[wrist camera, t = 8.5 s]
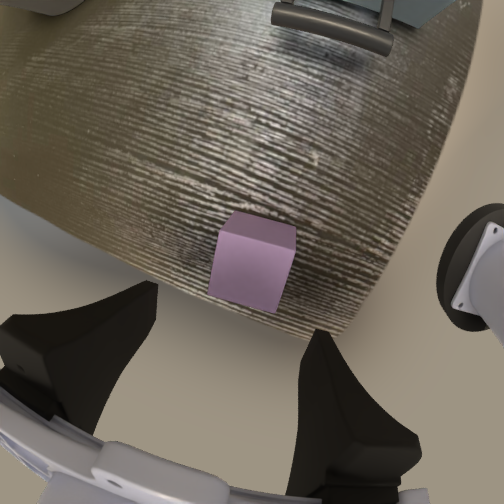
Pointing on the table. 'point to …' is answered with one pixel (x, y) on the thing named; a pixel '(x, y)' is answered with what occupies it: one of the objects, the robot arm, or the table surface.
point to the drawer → (353, 32)
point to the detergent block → (252, 261)
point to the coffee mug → (44, 5)
